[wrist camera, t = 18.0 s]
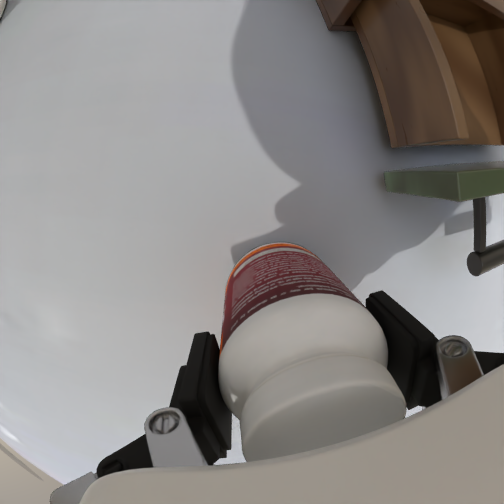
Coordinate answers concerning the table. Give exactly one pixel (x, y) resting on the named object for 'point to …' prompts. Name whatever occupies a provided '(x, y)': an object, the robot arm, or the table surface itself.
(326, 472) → the robot arm
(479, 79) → the drawer
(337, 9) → the cabinet
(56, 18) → the table surface
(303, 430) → the pill bottle
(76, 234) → the table surface
